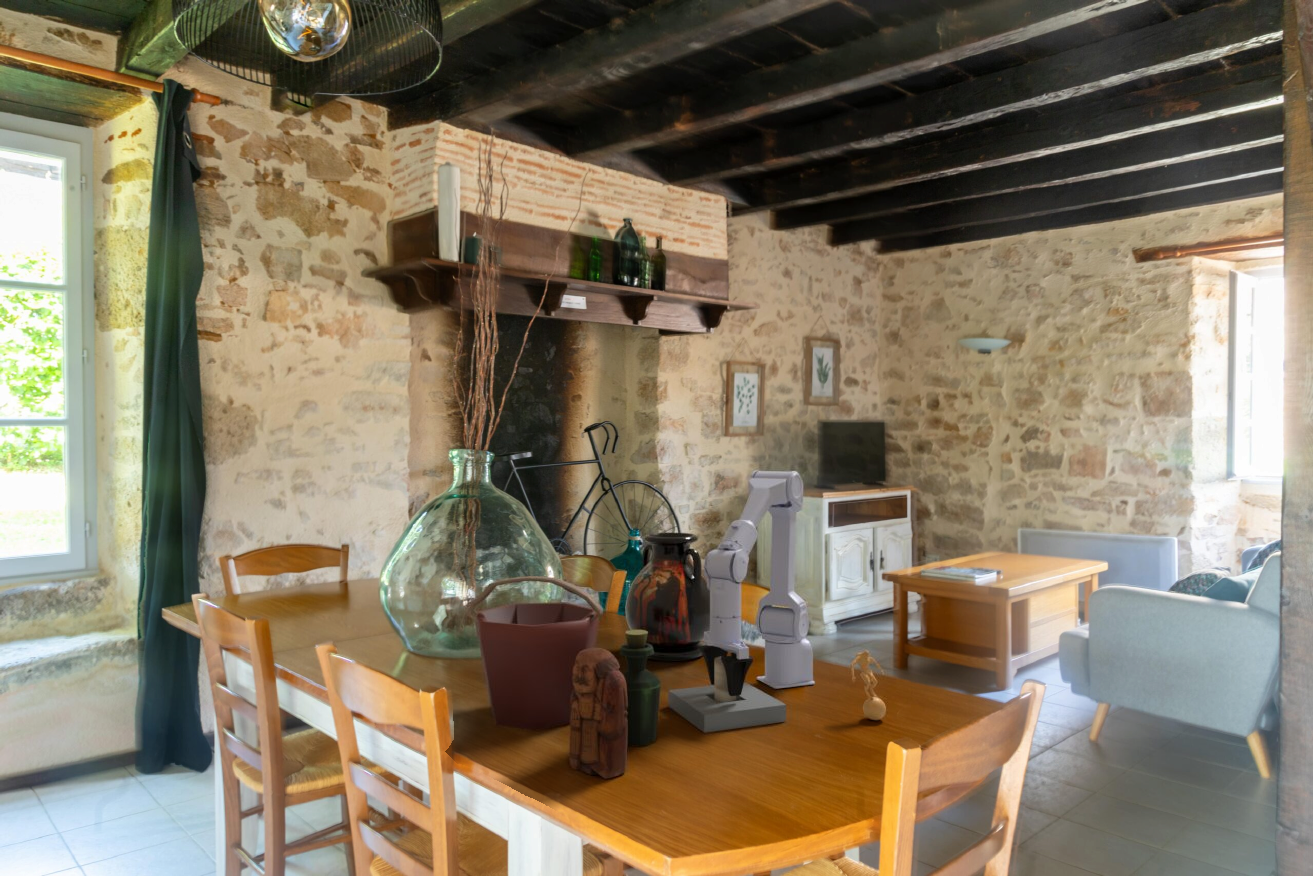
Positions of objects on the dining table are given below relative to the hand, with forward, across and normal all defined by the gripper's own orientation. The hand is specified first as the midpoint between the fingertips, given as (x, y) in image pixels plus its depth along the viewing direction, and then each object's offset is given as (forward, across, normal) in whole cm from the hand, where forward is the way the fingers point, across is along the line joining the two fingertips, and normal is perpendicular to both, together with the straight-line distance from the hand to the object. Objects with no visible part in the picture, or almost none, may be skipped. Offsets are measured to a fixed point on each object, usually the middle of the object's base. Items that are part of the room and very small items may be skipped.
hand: (725, 689), depth 158 cm
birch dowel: (+4, 0, 0) cm, 4 cm away
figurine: (+5, +12, +23) cm, 26 cm away
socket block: (+4, 0, 0) cm, 4 cm away
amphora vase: (+5, -45, +8) cm, 46 cm away
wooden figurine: (+5, +16, -30) cm, 34 cm away
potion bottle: (+5, +7, -20) cm, 22 cm away
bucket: (+5, -13, -32) cm, 35 cm away
